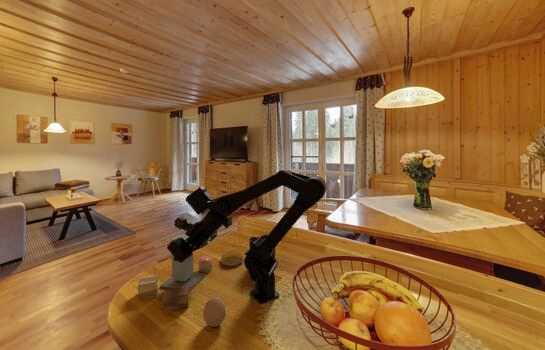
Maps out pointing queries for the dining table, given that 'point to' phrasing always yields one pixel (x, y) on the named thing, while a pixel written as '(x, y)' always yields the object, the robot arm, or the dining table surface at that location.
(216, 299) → the mauve oval ball
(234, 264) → the bread roll
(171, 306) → the walnut brick
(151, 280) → the beech cube
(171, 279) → the coaster
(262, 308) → the dining table surface
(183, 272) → the tall block
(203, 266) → the pink rounded pebble
